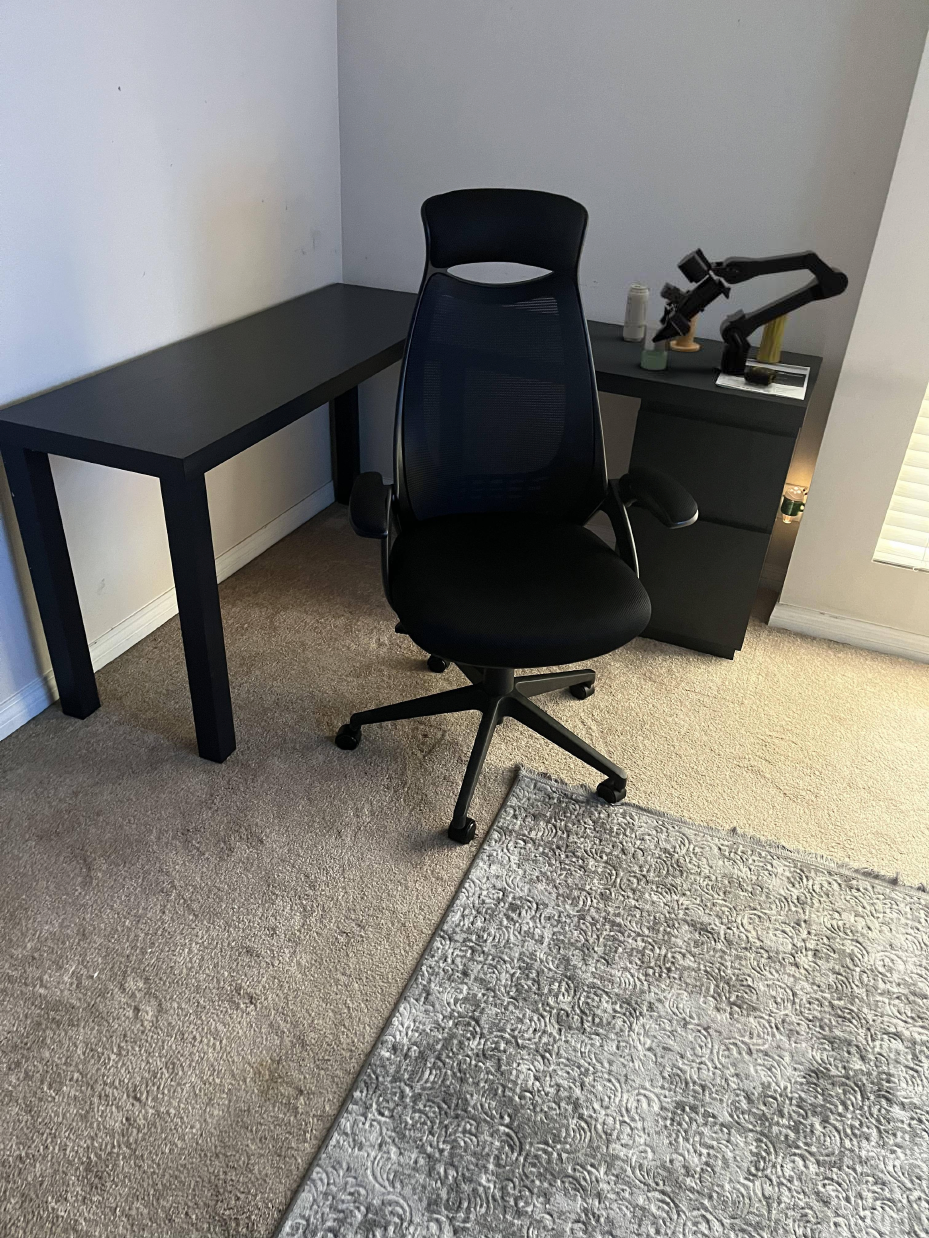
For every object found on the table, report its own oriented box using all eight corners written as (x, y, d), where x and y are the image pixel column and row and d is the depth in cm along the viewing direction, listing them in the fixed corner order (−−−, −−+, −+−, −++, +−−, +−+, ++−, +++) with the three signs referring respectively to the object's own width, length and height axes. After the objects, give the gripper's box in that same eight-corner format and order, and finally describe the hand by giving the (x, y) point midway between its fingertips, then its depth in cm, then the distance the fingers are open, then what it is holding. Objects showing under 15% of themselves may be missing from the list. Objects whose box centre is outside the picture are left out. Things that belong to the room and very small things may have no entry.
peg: (705, 350, 253) (711, 315, 247) (678, 353, 250) (684, 317, 245) (688, 342, 260) (693, 307, 254) (661, 344, 257) (666, 309, 252)
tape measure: (741, 384, 227) (744, 369, 225) (752, 378, 231) (755, 364, 229) (766, 390, 223) (769, 375, 221) (777, 384, 228) (780, 369, 226)
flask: (670, 369, 237) (675, 331, 231) (648, 371, 235) (653, 333, 229) (657, 362, 242) (662, 325, 236) (636, 364, 240) (641, 326, 234)
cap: (668, 344, 238) (672, 322, 235) (670, 352, 232) (673, 329, 229) (641, 343, 239) (644, 320, 236) (642, 350, 233) (645, 327, 230)
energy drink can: (641, 343, 258) (648, 289, 250) (620, 340, 260) (627, 287, 252) (644, 338, 263) (651, 285, 255) (624, 335, 264) (630, 283, 256)
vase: (774, 365, 242) (785, 311, 234) (752, 360, 245) (763, 308, 238) (782, 360, 246) (793, 307, 239) (761, 356, 249) (771, 304, 242)
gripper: (679, 265, 233) (632, 306, 240) (684, 280, 217) (633, 323, 224) (704, 298, 236) (657, 337, 243) (711, 314, 220) (660, 356, 227)
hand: (651, 337), depth 234 cm, fingers closed on cap, 7 cm apart
